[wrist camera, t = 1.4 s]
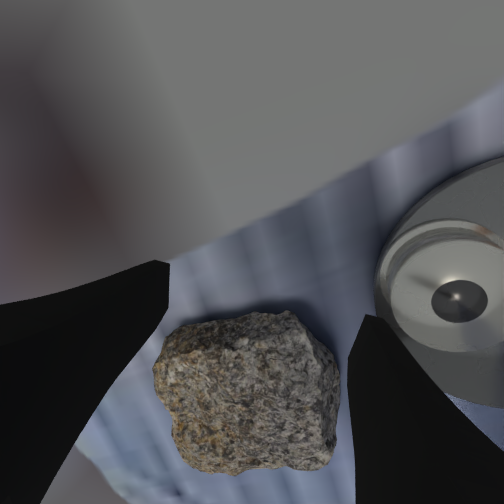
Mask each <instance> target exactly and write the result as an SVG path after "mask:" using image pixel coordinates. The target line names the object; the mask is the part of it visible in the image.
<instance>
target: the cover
mask: <svg viewBox="0 0 504 504" xmlns="http://www.w3.org/2000/svg"><path fill="white" fill-rule="evenodd" d="M379 281H380V286H381V289H382V293H383V295H384V297H385V299H386V301H387V302H388V304H389V305H390V306H391V308H392V310H393V314H394V316H395V319H396V321H397V322H398V324H399V326H400V327H401V328H402V329H403V331H404V332H405V333H407V334H408V335H409V336H410V337H411V338H413V339H414V340H416V341H417V342H419V343H421V344H423V345H426V346H428V347H431V348H434V349H437V350H442V351H450V352H469V351H476V350H481V349H485V348H488V347H491V346H494V345H496V344H498V343H500V342H502V341H504V241H503V240H502V239H501V238H500V237H499V236H498V235H496V234H495V233H494V232H492V231H491V230H489V229H488V228H487V227H485V226H483V225H481V224H479V223H476V222H473V221H470V220H465V219H459V218H440V219H433V220H429V221H425V222H422V223H420V224H417V225H415V226H413V227H411V228H409V229H407V230H406V231H404V232H403V233H401V234H400V235H399V236H398V237H396V238H395V239H394V241H393V242H392V243H391V244H390V245H389V246H388V248H387V249H386V251H385V253H384V255H383V257H382V260H381V263H380V267H379Z"/></svg>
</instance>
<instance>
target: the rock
mask: <svg viewBox="0 0 504 504" xmlns="http://www.w3.org/2000/svg"><path fill="white" fill-rule="evenodd" d="M152 370H153V373H154V387H155V391H156V395H157V396H158V398H159V399H160V400H161V401H162V402H163V404H164V406H165V409H166V410H169V413H170V415H171V417H172V420H173V424H172V438H173V440H174V442H175V444H176V447H177V449H178V451H179V453H180V455H181V457H182V459H183V461H184V462H185V463H187V464H188V465H190V466H192V468H196V469H198V470H199V471H203V472H206V473H209V474H213V473H227V474H228V475H232V476H237V475H239V474H240V473H242V472H244V471H246V470H249V469H262V468H268V469H277V468H279V467H280V468H281V467H283V466H288V467H290V468H292V469H294V470H302V471H314V470H319V469H321V468H322V467H324V466H325V465H328V463H329V461H330V459H331V457H332V455H333V453H334V448H335V446H336V441H337V437H336V423H337V415H338V410H339V406H340V388H339V385H338V384H339V383H340V379H339V378H340V375H339V371H338V369H337V364H336V362H335V361H334V355H333V354H332V353H331V351H330V350H329V349H328V348H326V346H325V345H324V344H323V343H320V342H319V341H318V340H316V339H315V337H314V336H313V335H312V334H311V332H310V331H309V330H308V328H307V327H306V326H305V325H303V324H302V323H301V322H300V321H299V319H298V318H297V316H296V314H295V313H293V312H290V311H284V312H283V313H281V314H278V315H275V314H273V313H271V314H267V313H261V314H260V313H258V312H256V311H254V312H252V313H250V314H247V315H244V316H241V317H238V318H236V319H231V318H230V319H227V320H223V319H221V320H214V321H209V322H205V323H198V324H192V325H183V326H181V327H179V328H177V329H175V330H174V331H173V332H172V333H171V334H170V335H169V336H166V337H165V340H164V343H163V346H162V351H161V354H160V355H159V357H158V359H157V360H156V362H155V364H154V366H153V368H152Z"/></svg>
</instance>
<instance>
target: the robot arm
mask: <svg viewBox="0 0 504 504" xmlns="http://www.w3.org/2000/svg"><path fill="white" fill-rule="evenodd" d="M169 275H170V264H169V263H165V262H161V261H157V260H153V261H149V262H146V263H143V264H140V265H138V266H135V267H132V268H130V269H127V270H124V271H122V272H119V273H116V274H114V275H111V276H108V277H105V278H102V279H100V280H97V281H94V282H91V283H88V284H84V285H81V286H79V287H75V288H72V289H68V290H65V291H61V292H58V293H54V294H50V295H46V296H42V297H37V298H33V299H28V300H23V301H17V302H12V303H7V304H2V305H0V504H40V503H41V501H42V499H43V497H44V495H45V494H46V492H47V490H48V488H49V486H50V485H51V483H52V481H53V479H54V477H55V476H56V474H57V472H58V470H59V469H60V467H61V465H62V464H63V462H64V460H65V459H66V457H67V455H68V453H69V452H70V450H71V448H72V447H73V445H74V443H75V441H76V440H77V438H78V437H79V435H80V433H81V432H82V430H83V429H84V427H85V425H86V424H87V422H88V420H89V419H90V417H91V416H92V414H93V412H94V411H95V409H96V408H97V406H98V405H99V403H100V402H101V400H102V399H103V397H104V396H105V394H106V393H107V391H108V389H109V388H110V387H111V385H112V384H113V383H114V381H115V380H116V378H117V377H118V376H119V375H120V373H121V372H122V371H123V370H124V368H125V367H126V366H127V365H128V363H129V362H130V361H131V360H132V358H133V357H134V356H135V355H136V353H137V352H138V351H139V350H140V349H141V347H142V346H143V345H144V343H145V342H146V341H147V340H148V338H149V337H150V336H151V335H152V333H153V332H154V331H155V329H156V328H157V326H158V325H159V323H160V321H161V320H162V318H163V316H164V314H165V313H166V311H167V309H168V305H169ZM347 387H348V398H349V408H350V417H351V426H352V435H353V445H354V456H355V488H356V504H504V452H503V451H502V450H501V449H500V448H499V447H498V446H497V445H496V444H494V443H493V442H492V441H491V440H490V439H489V438H488V437H487V436H486V435H485V434H484V433H483V432H482V431H480V430H479V429H478V428H477V427H476V426H475V425H474V424H473V423H472V422H471V421H470V420H469V419H468V418H467V417H466V416H465V415H464V414H463V413H462V412H461V411H460V410H459V409H458V408H457V407H456V406H455V405H454V403H453V402H452V401H451V400H450V399H449V398H448V397H447V396H446V395H445V394H444V393H443V391H442V390H441V389H440V388H439V387H438V386H437V385H436V384H435V382H434V381H433V380H432V379H431V378H430V377H429V375H428V374H427V373H426V372H425V371H424V369H423V368H422V367H421V366H420V364H419V363H418V362H417V361H416V359H415V358H414V357H413V356H412V354H411V353H410V352H409V351H408V349H407V348H406V347H405V345H404V344H403V343H402V341H401V340H400V339H399V337H398V336H397V335H396V333H395V332H394V331H393V329H392V328H391V327H390V325H389V324H388V323H387V322H386V321H385V319H383V318H379V317H375V316H371V315H368V314H366V315H365V317H364V319H363V322H362V324H361V327H360V329H359V332H358V334H357V337H356V339H355V342H354V344H353V347H352V349H351V352H350V354H349V357H348V372H347Z"/></svg>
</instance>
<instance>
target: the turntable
mask: <svg viewBox="0 0 504 504" xmlns="http://www.w3.org/2000/svg"><path fill="white" fill-rule="evenodd" d="M440 218H459V219H465V220H470V221H473V222H476V223H479V224H481V225H483V226H485V227H487V228H488V229H489V230H491V231H492V232H494V233H495V234H496V235H498V236H499V237H500V238H501V239H502V240H503V241H504V157H501V158H497V159H493V160H490V161H487V162H485V163H482V164H480V165H477V166H475V167H472V168H470V169H467V170H466V171H464V172H462V173H460V174H458V175H456V176H454V177H452V178H450V179H448V180H447V181H445V182H444V183H442V184H441V185H439V186H438V187H436V188H435V189H433V190H432V191H430V192H429V193H428V194H426V195H425V196H424V197H423V198H422V199H420V200H419V201H418V202H417V203H416V204H415V205H413V207H412V208H411V209H410V210H409V211H408V212H407V213H406V214H405V215H404V216H403V217H402V218H401V219H400V221H399V222H398V224H397V225H396V226H395V228H394V229H393V230H392V232H391V233H390V235H389V237H388V239H387V240H386V242H385V244H384V246H383V248H382V250H381V253H380V256H379V258H378V261H377V265H376V270H375V275H374V287H373V292H374V302H375V309H376V315H377V317H379V318H383V319H385V321H386V322H387V323H388V324H389V325H390V327H391V328H392V329H393V331H394V332H395V333H396V335H397V336H398V337H399V339H400V340H401V341H402V343H403V344H404V345H405V347H406V348H407V349H408V351H409V352H410V353H411V354H412V356H413V357H414V358H415V359H416V361H417V362H418V363H419V364H420V366H421V367H422V368H423V369H424V371H425V372H426V373H427V374H428V375H429V377H430V378H431V379H432V380H433V381H434V382H435V384H436V385H437V386H438V387H439V388H440V389H441V390H442V391H443V392H445V393H448V394H450V395H452V396H454V397H457V398H460V399H463V400H466V401H469V402H472V403H476V404H481V405H485V406H490V407H496V408H503V409H504V341H502V342H500V343H498V344H496V345H494V346H491V347H488V348H485V349H481V350H476V351H469V352H450V351H442V350H437V349H434V348H431V347H428V346H426V345H423V344H421V343H419V342H417V341H416V340H414V339H413V338H411V337H410V336H409V335H408V334H407V333H405V332H404V331H403V329H402V328H401V327H400V326H399V324H398V322H397V321H396V319H395V316H394V314H393V310H392V308H391V306H390V305H389V304H388V302H387V301H386V299H385V297H384V295H383V293H382V289H381V286H380V281H379V267H380V263H381V260H382V257H383V255H384V253H385V251H386V249H387V248H388V246H389V245H390V244H391V243H392V242H393V241H394V239H395V238H396V237H398V236H399V235H400V234H401V233H403V232H404V231H406V230H407V229H409V228H411V227H413V226H415V225H417V224H420V223H422V222H425V221H429V220H433V219H440Z"/></svg>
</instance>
